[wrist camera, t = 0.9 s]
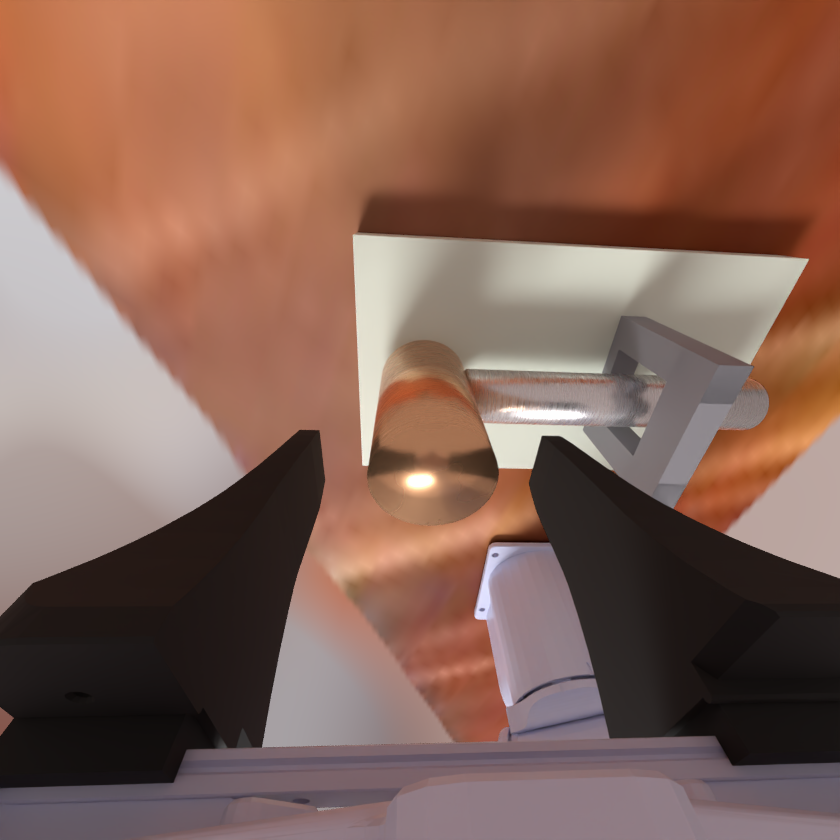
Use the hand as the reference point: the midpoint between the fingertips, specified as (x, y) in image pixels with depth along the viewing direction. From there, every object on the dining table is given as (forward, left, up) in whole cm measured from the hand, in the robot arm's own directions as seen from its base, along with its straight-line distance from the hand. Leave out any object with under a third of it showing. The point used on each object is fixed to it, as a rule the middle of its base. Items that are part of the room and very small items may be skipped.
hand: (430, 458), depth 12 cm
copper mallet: (0, -6, -6) cm, 9 cm away
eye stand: (0, -7, -9) cm, 11 cm away
